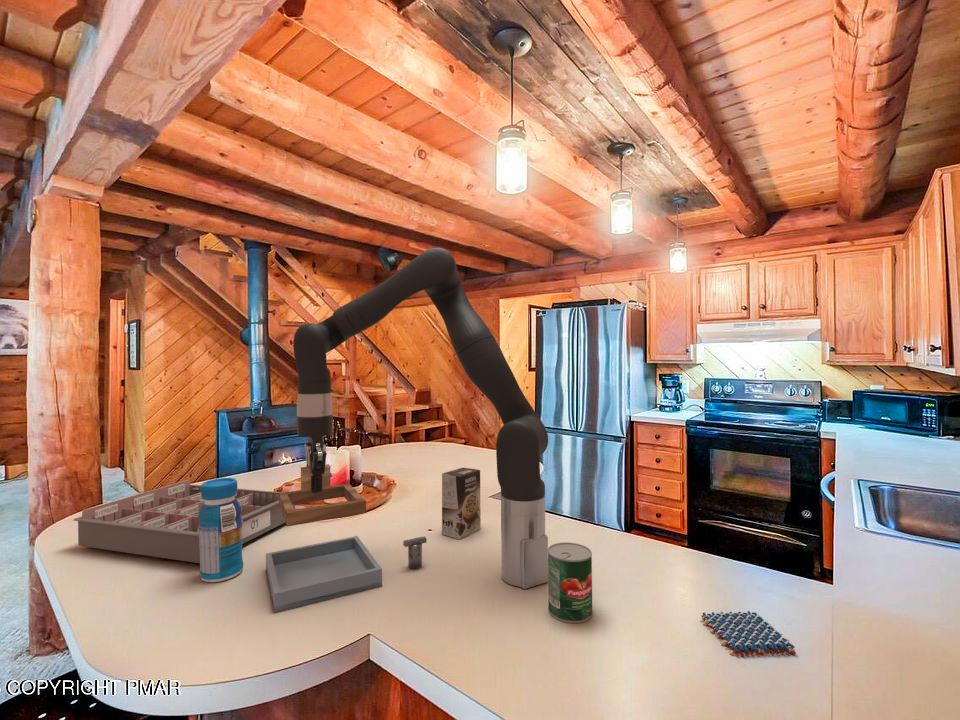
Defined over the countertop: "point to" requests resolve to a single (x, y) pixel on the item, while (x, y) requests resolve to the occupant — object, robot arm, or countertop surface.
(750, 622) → the woven mat
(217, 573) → the beverage bottle
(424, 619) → the countertop surface
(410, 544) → the grey metal t-shaped piece
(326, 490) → the wooden frame with tab
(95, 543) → the organizer tray
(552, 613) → the canned tomato
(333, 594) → the tray
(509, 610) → the countertop surface
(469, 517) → the coffee box
